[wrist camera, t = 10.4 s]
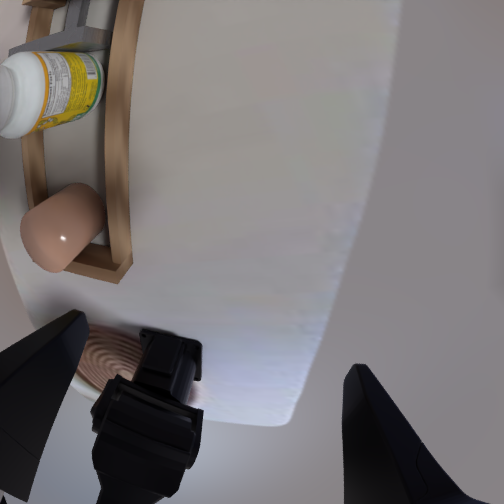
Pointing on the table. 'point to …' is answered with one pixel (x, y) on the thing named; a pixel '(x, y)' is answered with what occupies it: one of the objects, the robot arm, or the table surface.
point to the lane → (116, 142)
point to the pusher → (71, 34)
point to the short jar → (62, 226)
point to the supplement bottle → (47, 90)
